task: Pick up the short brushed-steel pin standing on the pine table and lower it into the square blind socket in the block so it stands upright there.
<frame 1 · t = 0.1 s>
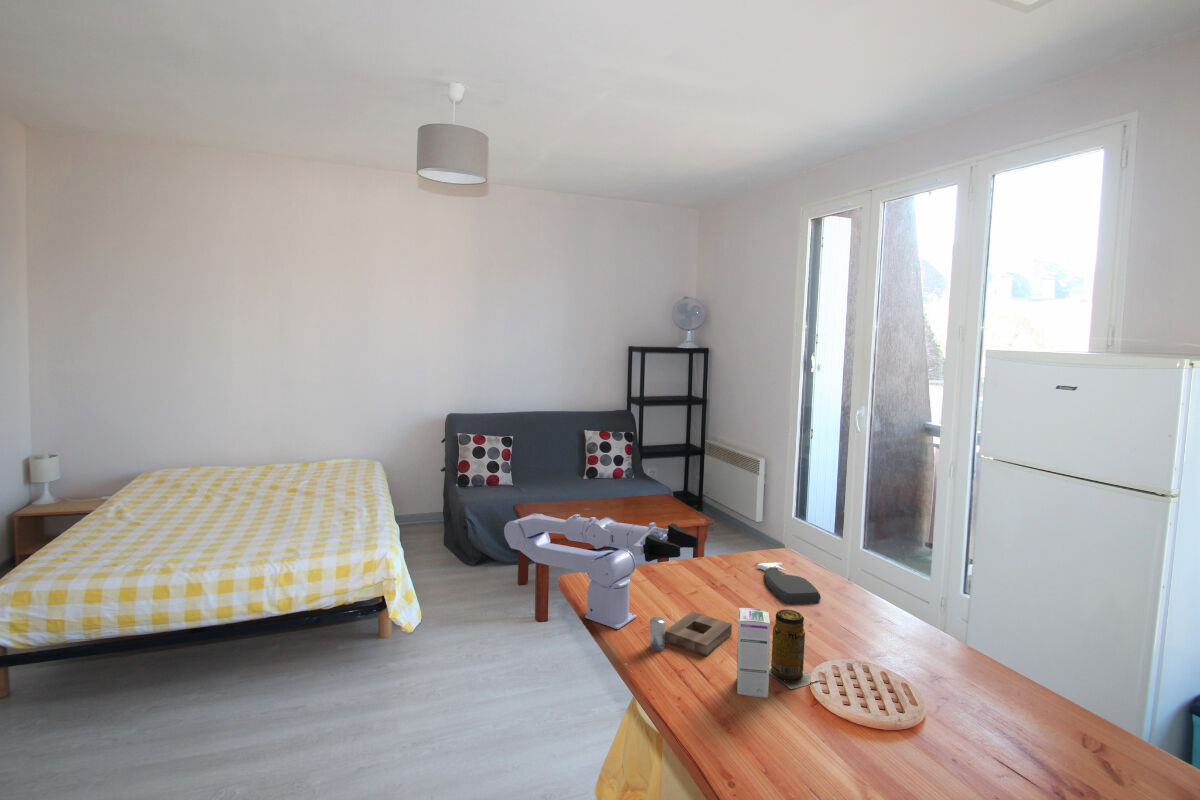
hand: (688, 546, 131), 22 cm above the table, tool horizontal, fingers open, 7 cm apart
spray bottle: (784, 586, 166), on the table
condiment: (789, 675, 122), on the table
bore block: (698, 638, 136), on the table
syrup box: (751, 689, 117), on the table
pin: (657, 647, 131), on the table
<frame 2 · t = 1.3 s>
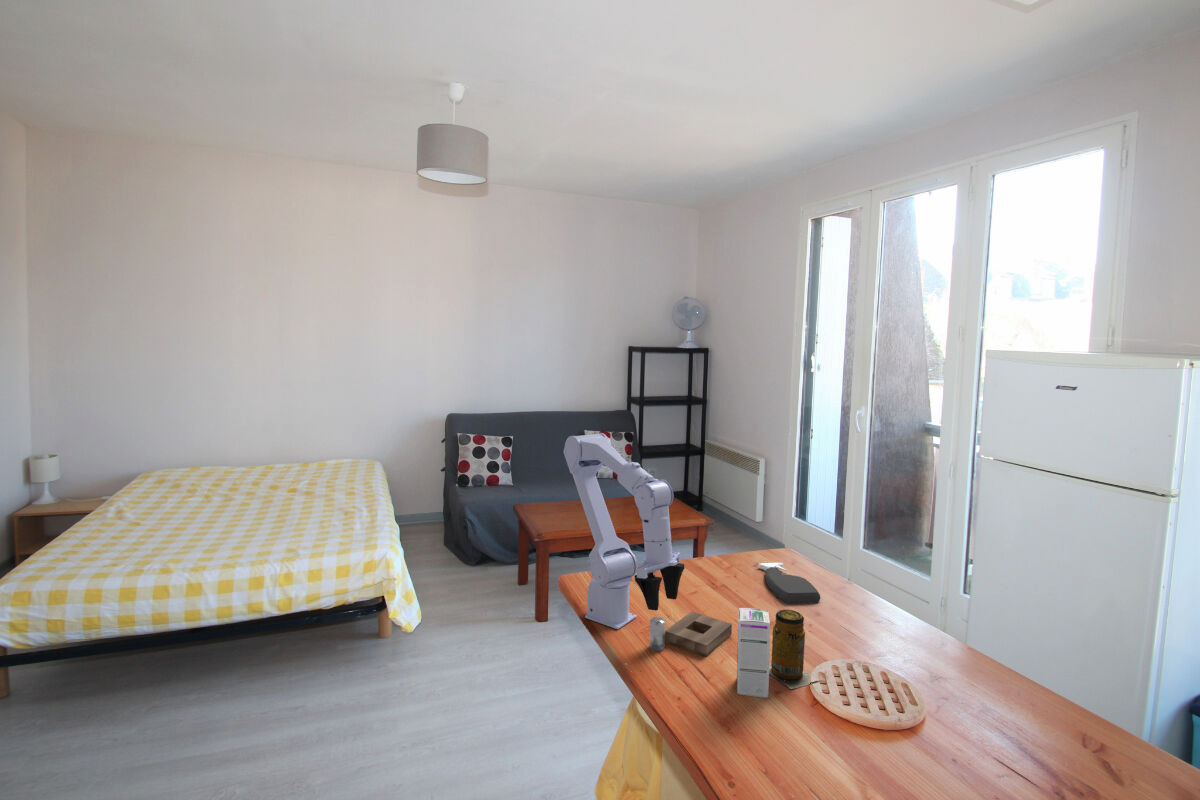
hand: (662, 603, 130), 10 cm above the table, tool pointing down, fingers open, 7 cm apart
nothing on the table moved.
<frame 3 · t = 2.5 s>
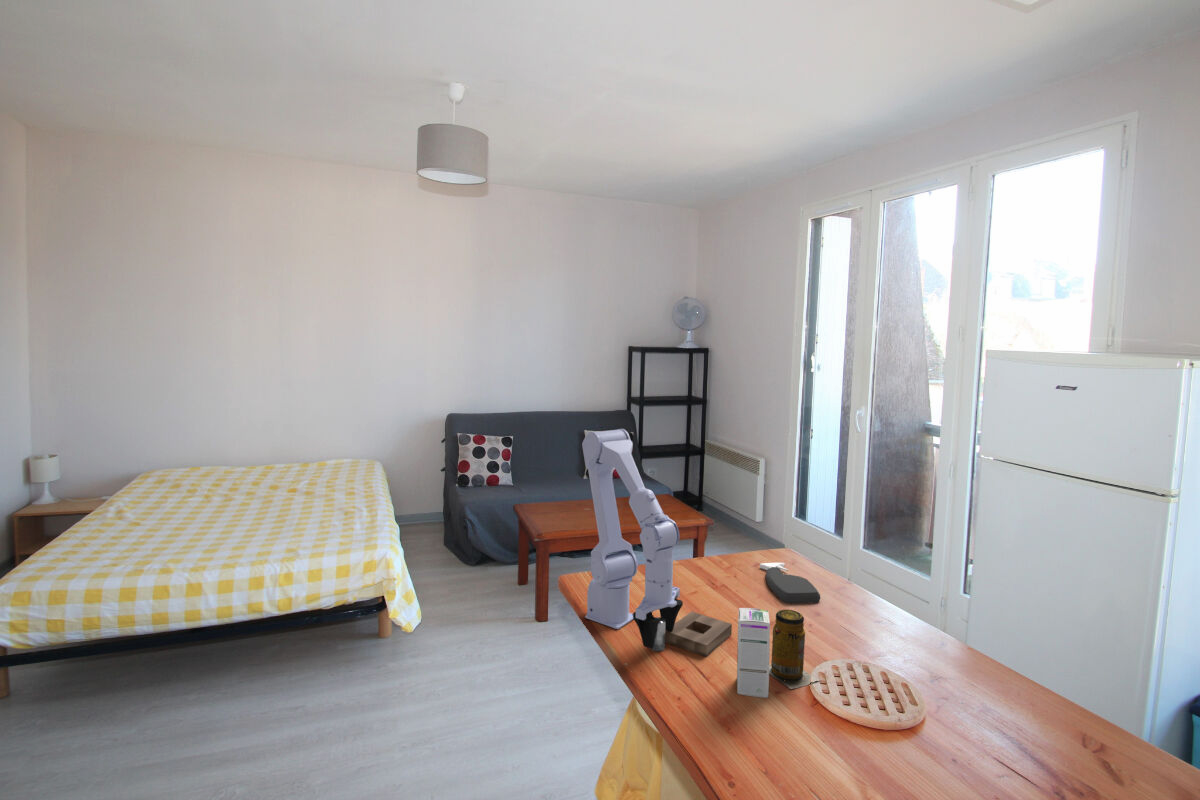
hand: (657, 639, 131), 2 cm above the table, tool pointing down, fingers open, 7 cm apart
nothing on the table moved.
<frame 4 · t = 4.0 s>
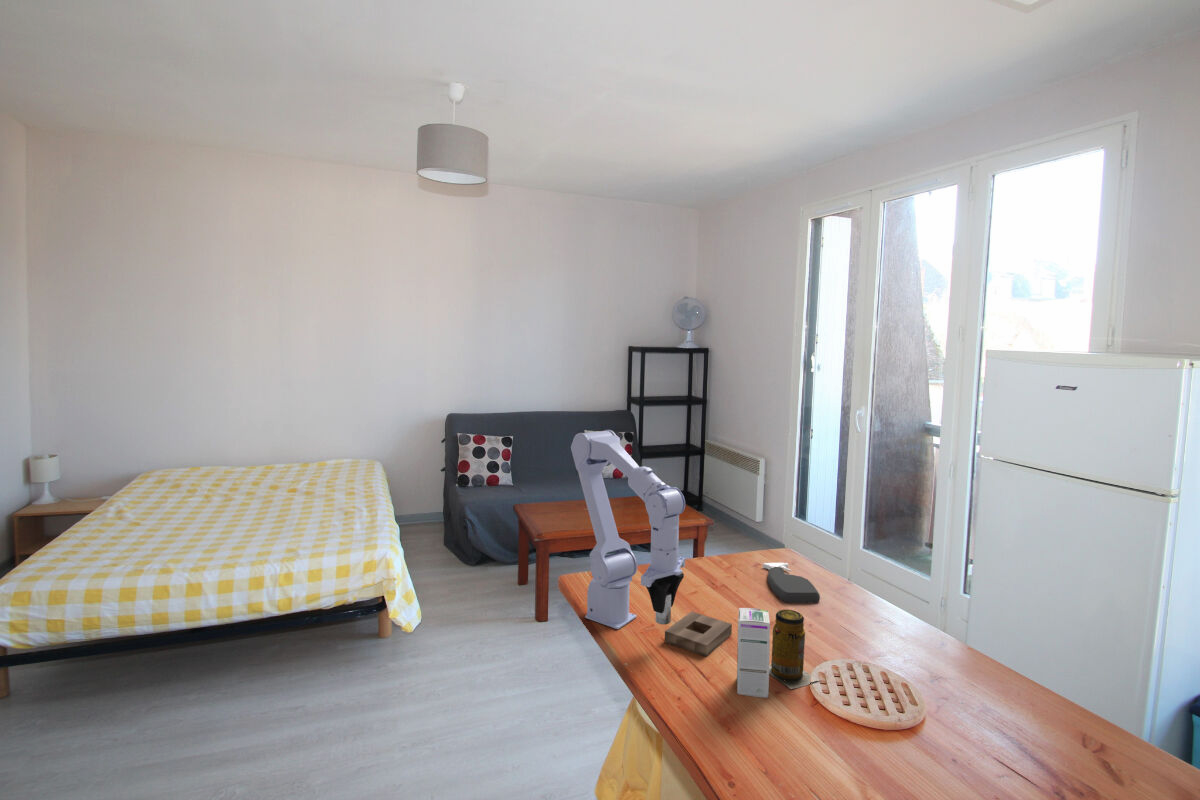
hand: (663, 608, 131), 8 cm above the table, tool pointing down, fingers closed on pin, 3 cm apart
pin: (663, 621, 131), point 6 cm above the table, touching gripper
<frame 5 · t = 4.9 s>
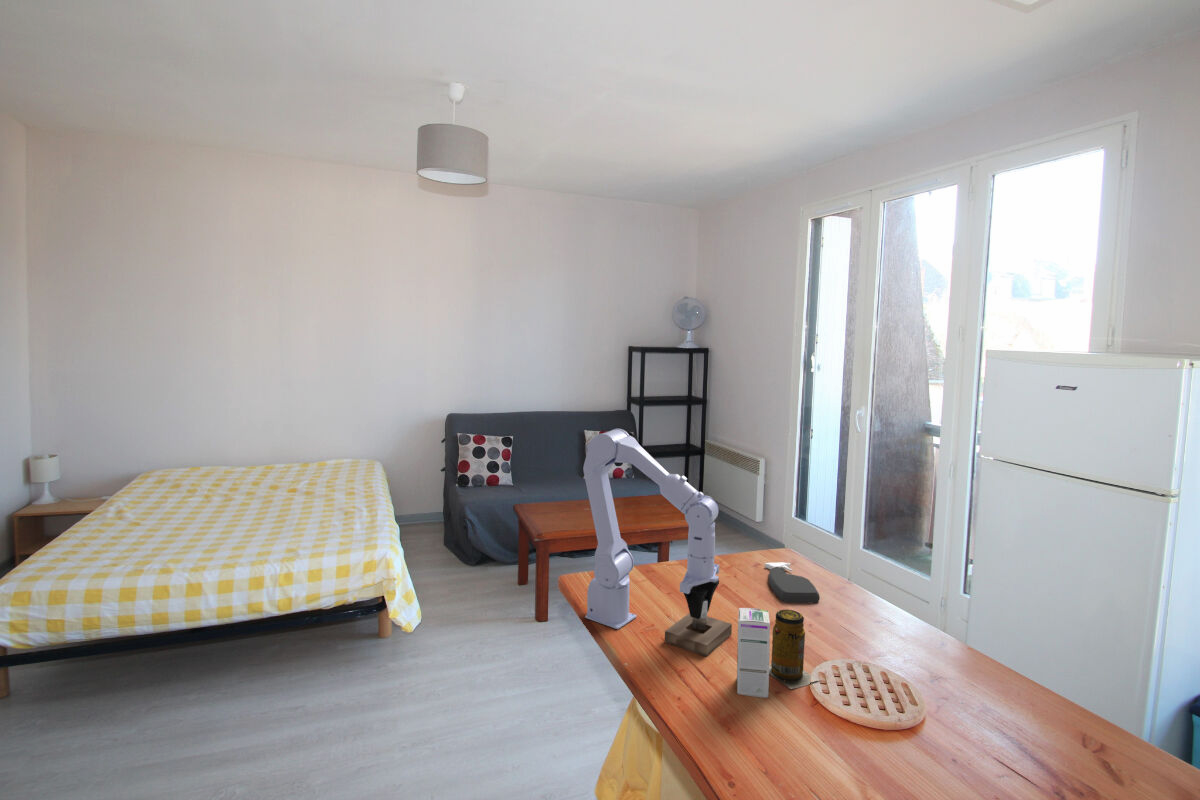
hand: (699, 614, 135), 5 cm above the table, tool pointing down, fingers closed on pin, 3 cm apart
pin: (699, 626, 135), point 3 cm above the table, touching gripper
when the fingers open (3 cm above the table, at t = 5.7 s): pin stays where it is, resting on bore block.
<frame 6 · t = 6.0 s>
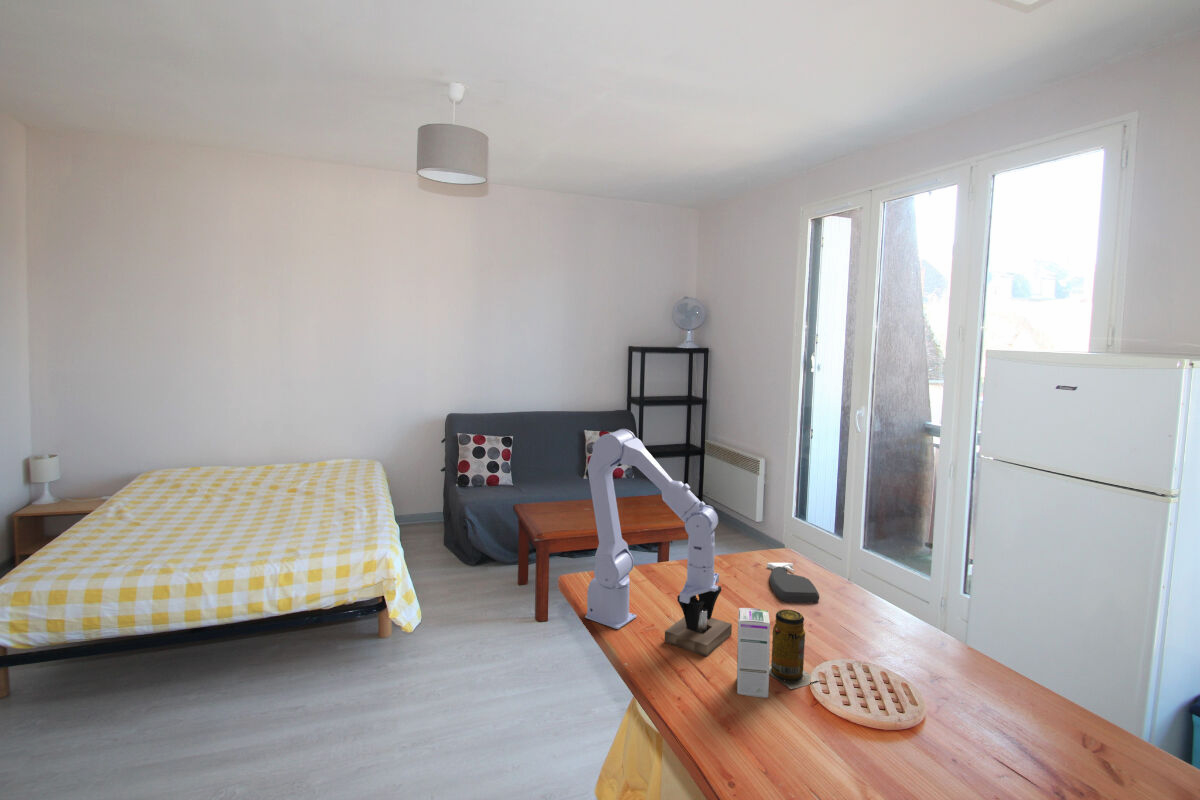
hand: (698, 623, 135), 3 cm above the table, tool pointing down, fingers open, 6 cm apart
pin: (698, 636, 135), point 1 cm above the table, touching bore block
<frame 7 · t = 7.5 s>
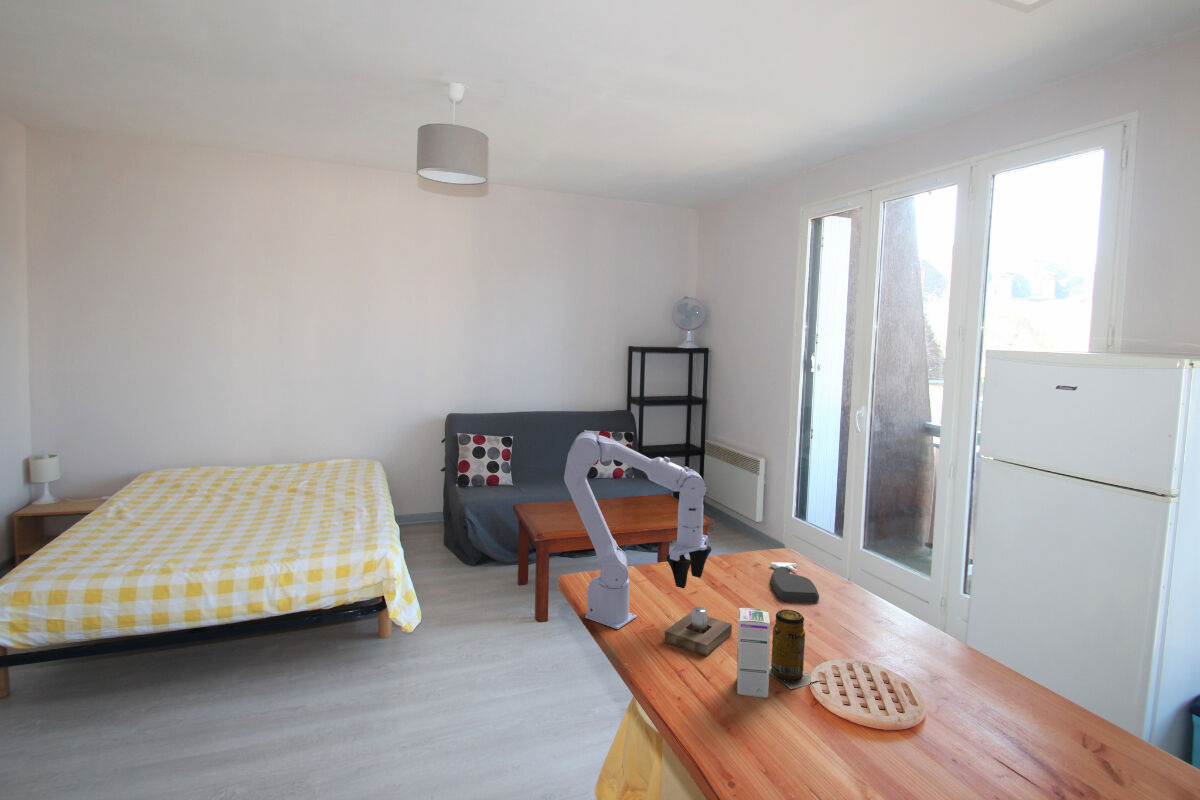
hand: (688, 581, 143), 9 cm above the table, tool pointing down, fingers open, 7 cm apart
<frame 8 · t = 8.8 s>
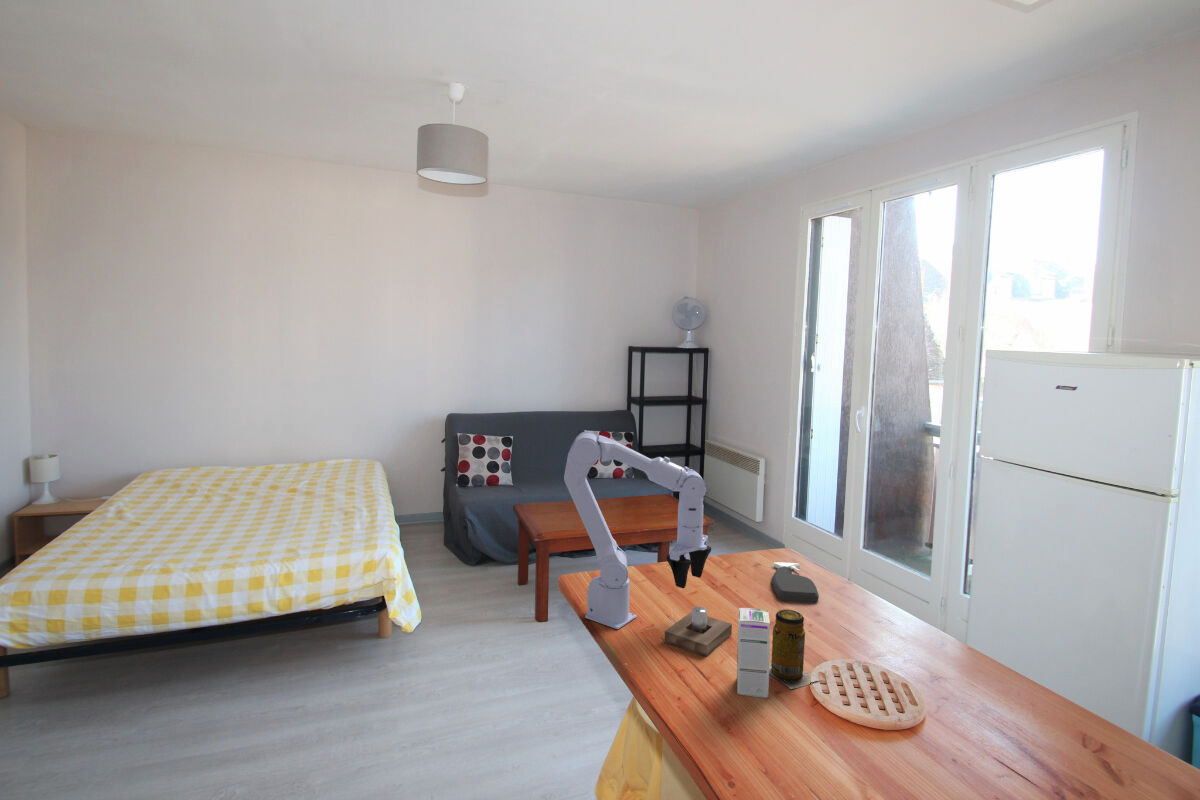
hand: (688, 581, 143), 9 cm above the table, tool pointing down, fingers open, 7 cm apart
at the end: pin 0.1 cm off-centre on the bore block, point 0.5 cm above the bore block's base; pin tilted 1°; the gripper is holding nothing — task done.
